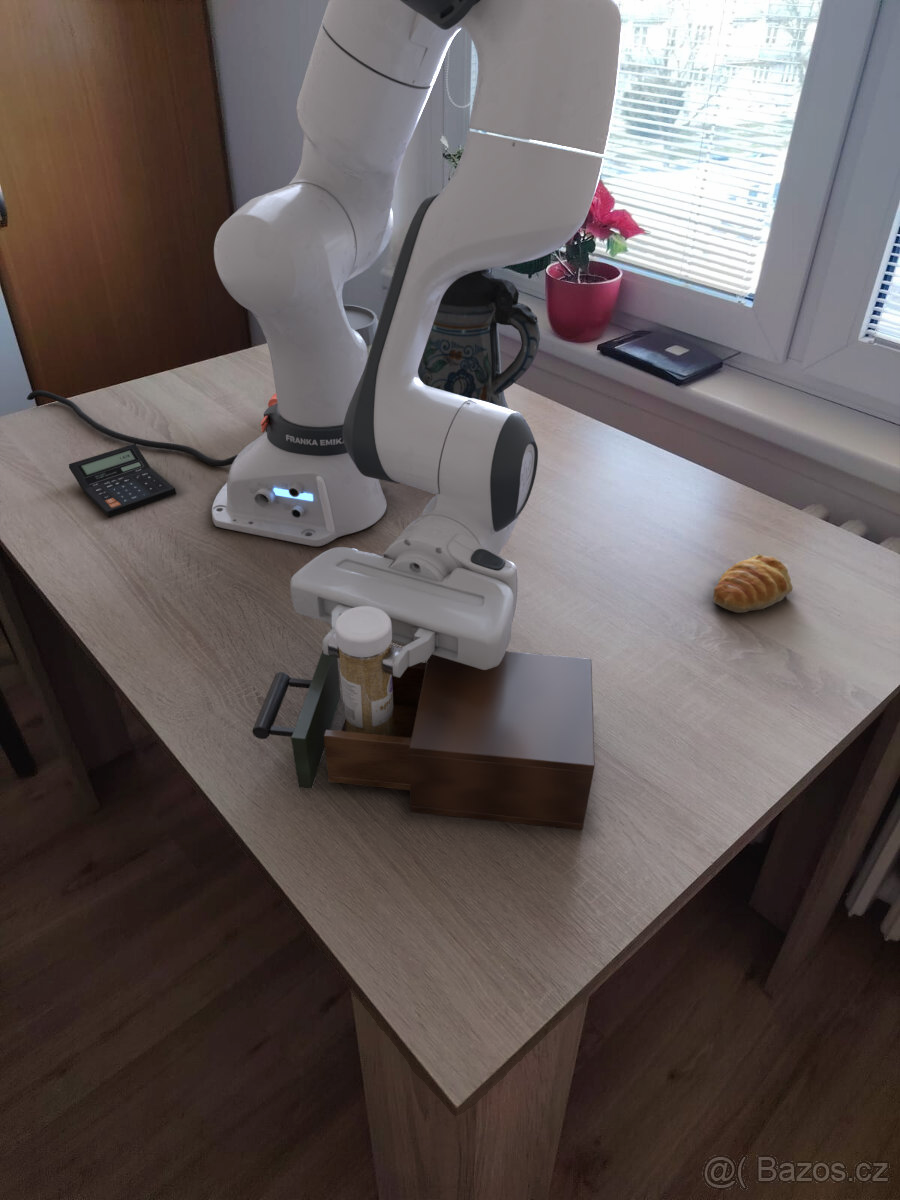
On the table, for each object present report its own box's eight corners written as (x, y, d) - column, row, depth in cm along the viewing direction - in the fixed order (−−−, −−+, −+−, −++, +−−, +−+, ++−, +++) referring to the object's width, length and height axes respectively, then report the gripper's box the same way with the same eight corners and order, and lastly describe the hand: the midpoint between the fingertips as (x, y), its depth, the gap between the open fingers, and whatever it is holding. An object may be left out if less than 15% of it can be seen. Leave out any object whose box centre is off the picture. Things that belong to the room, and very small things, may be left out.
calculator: (108, 517, 106) (103, 497, 104) (73, 482, 113) (67, 462, 111) (176, 493, 111) (172, 473, 109) (138, 461, 118) (133, 442, 116)
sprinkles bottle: (399, 750, 73) (396, 635, 65) (348, 759, 72) (338, 643, 64) (390, 713, 77) (386, 600, 68) (341, 721, 76) (331, 607, 67)
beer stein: (400, 408, 133) (397, 245, 118) (520, 407, 134) (532, 245, 119) (402, 456, 120) (398, 280, 105) (534, 455, 121) (550, 281, 106)
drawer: (250, 782, 71) (240, 732, 67) (285, 691, 80) (278, 642, 76) (454, 804, 70) (455, 754, 66) (467, 708, 79) (469, 659, 75)
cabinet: (410, 812, 70) (409, 747, 65) (430, 707, 80) (430, 644, 75) (582, 830, 69) (594, 765, 64) (581, 721, 79) (591, 658, 74)
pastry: (745, 627, 91) (753, 599, 88) (695, 597, 95) (702, 570, 93) (794, 595, 95) (803, 568, 93) (744, 568, 100) (752, 542, 97)
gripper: (331, 517, 79) (248, 597, 69) (534, 569, 73) (475, 665, 63) (336, 571, 83) (257, 654, 73) (528, 625, 77) (472, 724, 66)
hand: (360, 660), depth 68 cm, fingers closed on sprinkles bottle, 4 cm apart
